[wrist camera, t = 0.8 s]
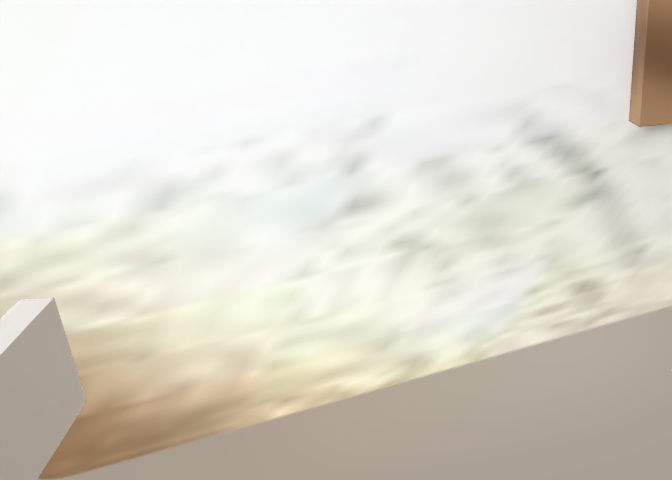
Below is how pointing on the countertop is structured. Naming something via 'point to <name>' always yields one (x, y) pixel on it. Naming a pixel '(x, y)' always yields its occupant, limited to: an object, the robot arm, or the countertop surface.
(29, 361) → the robot arm
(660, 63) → the wooden peg board
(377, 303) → the countertop surface
